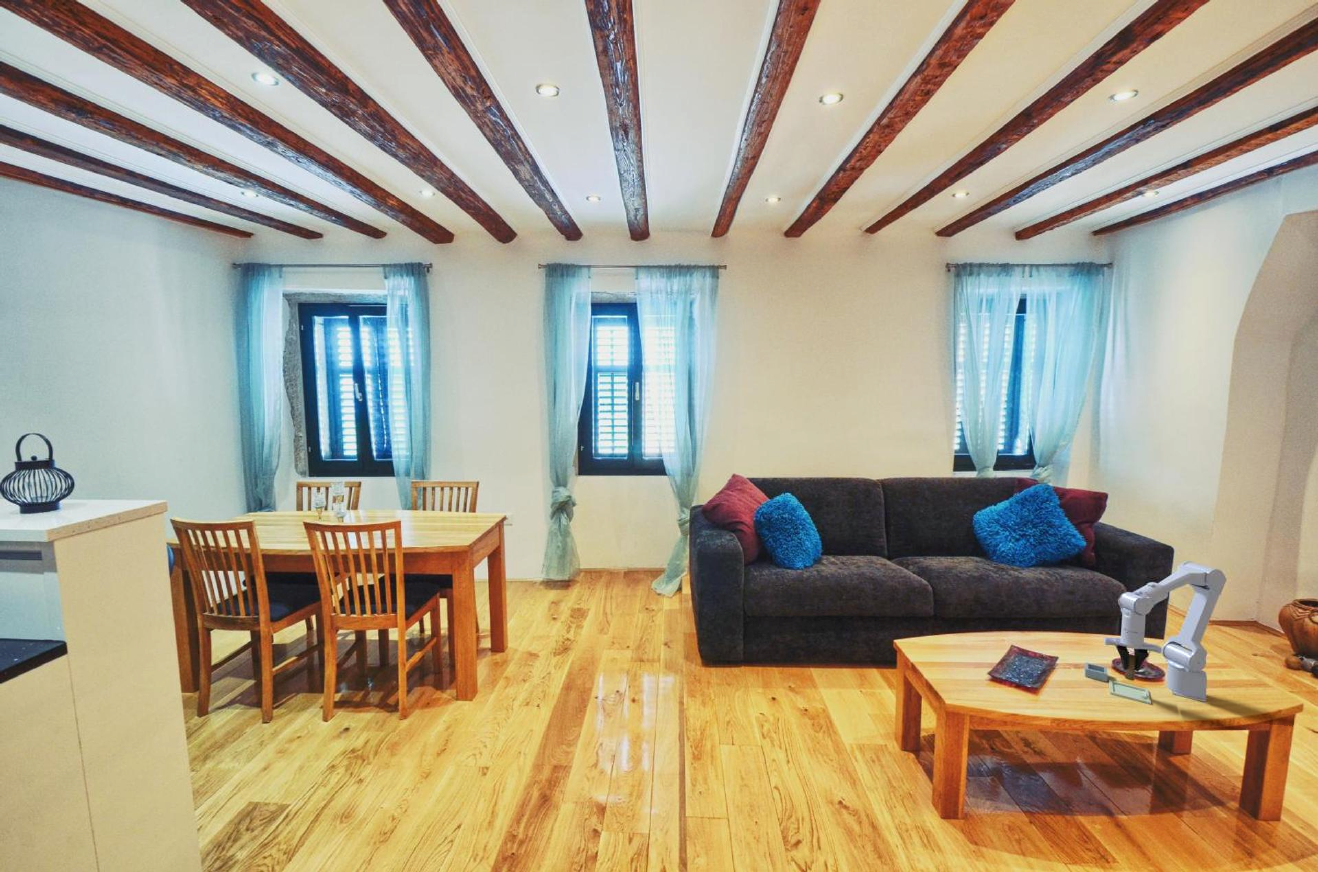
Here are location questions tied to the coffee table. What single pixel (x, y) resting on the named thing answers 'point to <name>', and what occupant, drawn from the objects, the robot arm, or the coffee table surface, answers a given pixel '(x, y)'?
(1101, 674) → the grey open box
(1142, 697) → the tray
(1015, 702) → the coffee table surface
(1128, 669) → the dowel
